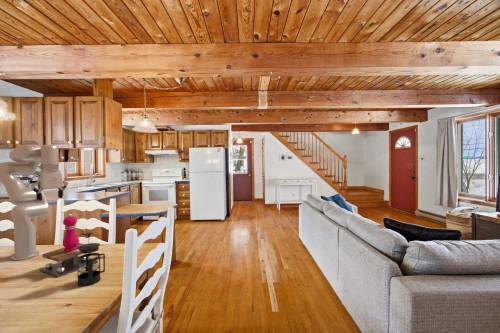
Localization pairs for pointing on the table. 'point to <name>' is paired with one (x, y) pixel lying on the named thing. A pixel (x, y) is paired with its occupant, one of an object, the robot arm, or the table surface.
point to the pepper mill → (70, 234)
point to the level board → (62, 254)
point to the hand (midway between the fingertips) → (50, 199)
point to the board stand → (64, 267)
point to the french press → (89, 264)
